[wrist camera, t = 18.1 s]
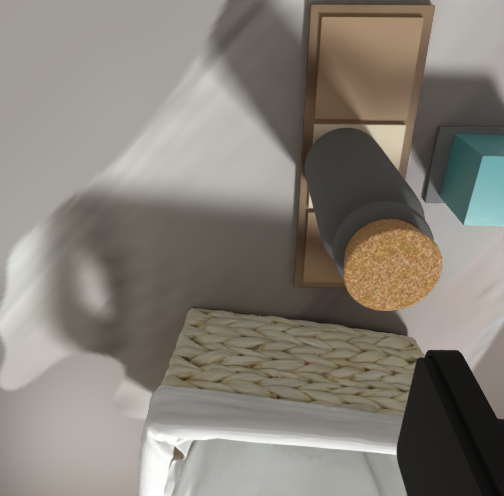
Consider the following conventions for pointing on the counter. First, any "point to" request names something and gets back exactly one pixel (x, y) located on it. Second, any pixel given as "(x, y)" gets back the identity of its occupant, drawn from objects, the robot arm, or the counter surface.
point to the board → (358, 99)
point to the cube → (475, 179)
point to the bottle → (371, 221)
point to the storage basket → (277, 410)
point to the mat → (443, 153)
